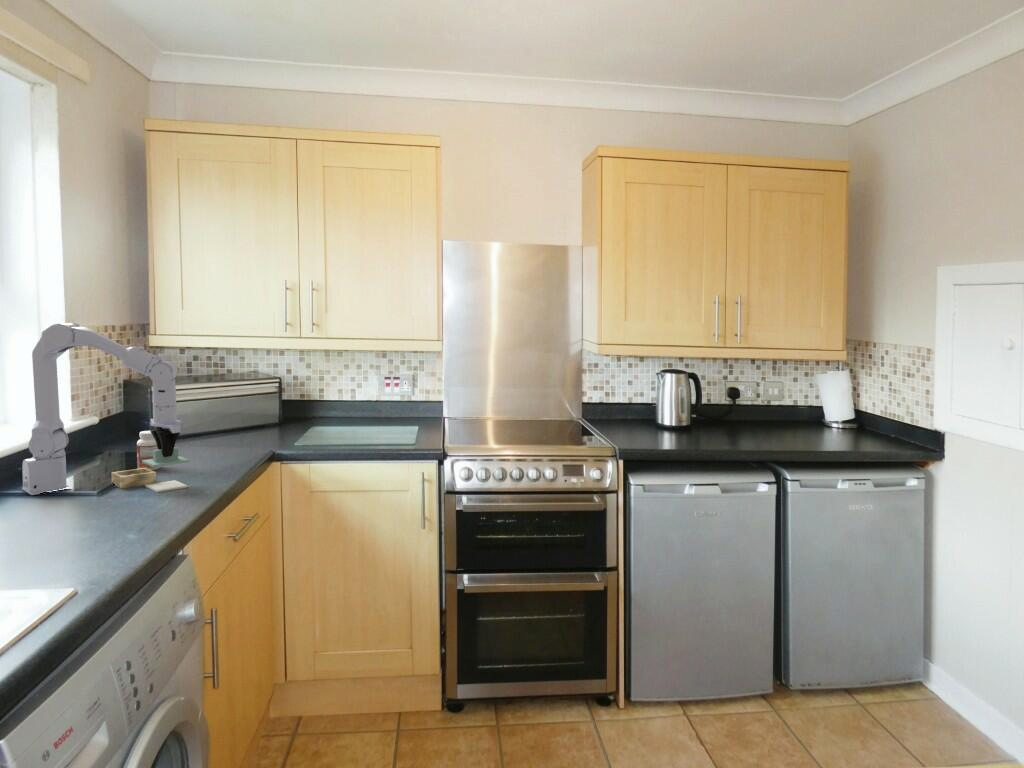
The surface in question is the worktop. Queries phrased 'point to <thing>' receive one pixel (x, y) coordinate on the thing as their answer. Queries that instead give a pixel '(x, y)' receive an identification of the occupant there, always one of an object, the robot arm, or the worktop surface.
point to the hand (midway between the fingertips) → (165, 455)
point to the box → (133, 478)
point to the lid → (164, 459)
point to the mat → (166, 486)
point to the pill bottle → (145, 449)
